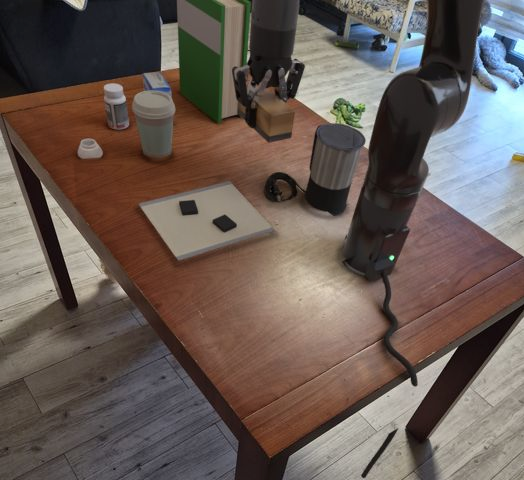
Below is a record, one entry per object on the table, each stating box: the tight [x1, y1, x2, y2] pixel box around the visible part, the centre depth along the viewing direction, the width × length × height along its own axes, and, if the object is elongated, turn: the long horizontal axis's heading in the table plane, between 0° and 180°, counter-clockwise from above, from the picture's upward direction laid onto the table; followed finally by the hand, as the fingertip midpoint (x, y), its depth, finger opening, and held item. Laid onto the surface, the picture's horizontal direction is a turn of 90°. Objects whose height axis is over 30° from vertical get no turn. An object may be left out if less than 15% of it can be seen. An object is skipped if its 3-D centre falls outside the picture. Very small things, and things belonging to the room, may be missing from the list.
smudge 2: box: [213, 215, 237, 233], centre depth 88 cm, size 4×3×1 cm
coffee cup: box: [131, 90, 176, 159], centre depth 98 cm, size 8×9×12 cm
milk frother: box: [263, 122, 367, 217], centre depth 92 cm, size 14×16×15 cm
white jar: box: [77, 138, 104, 160], centre depth 98 cm, size 5×3×5 cm
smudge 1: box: [179, 200, 198, 216], centre depth 90 cm, size 4×3×1 cm
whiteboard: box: [138, 180, 276, 262], centre depth 89 cm, size 18×20×1 cm
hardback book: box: [176, 0, 252, 124], centre depth 110 cm, size 18×7×24 cm, turn 37°
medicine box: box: [142, 72, 173, 99], centre depth 109 cm, size 8×4×9 cm, turn 25°
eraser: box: [237, 84, 296, 143], centre depth 88 cm, size 12×5×5 cm, turn 30°
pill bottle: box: [103, 82, 130, 131], centre depth 105 cm, size 5×5×8 cm
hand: (263, 123), depth 89 cm, fingers closed on eraser, 5 cm apart
